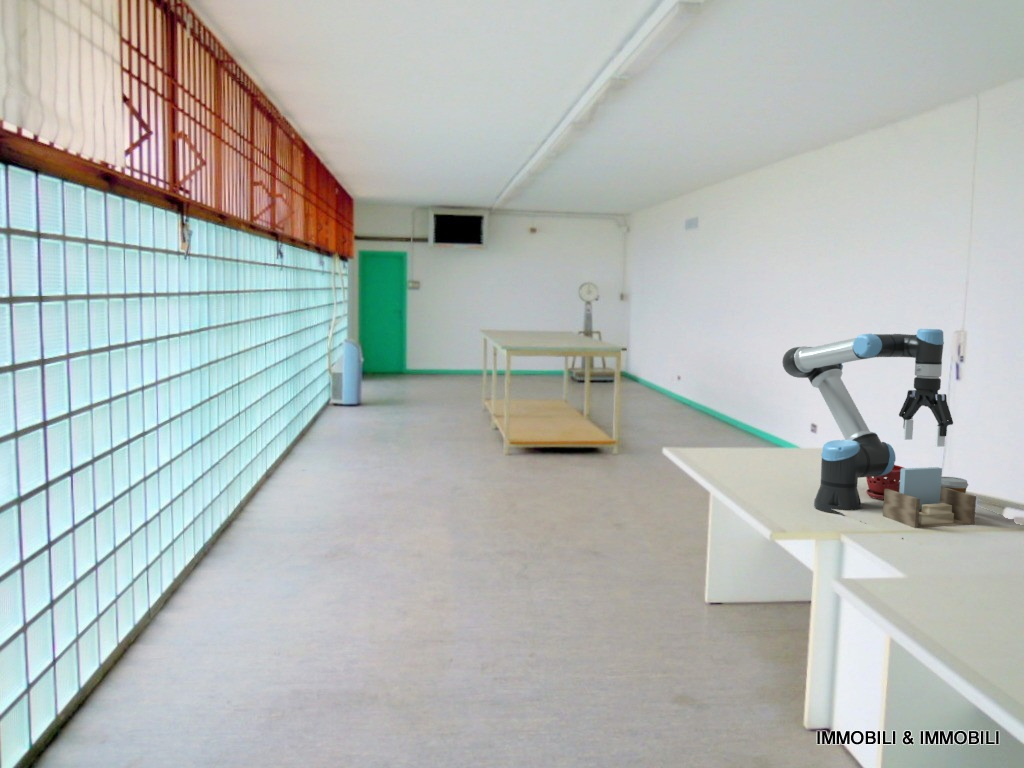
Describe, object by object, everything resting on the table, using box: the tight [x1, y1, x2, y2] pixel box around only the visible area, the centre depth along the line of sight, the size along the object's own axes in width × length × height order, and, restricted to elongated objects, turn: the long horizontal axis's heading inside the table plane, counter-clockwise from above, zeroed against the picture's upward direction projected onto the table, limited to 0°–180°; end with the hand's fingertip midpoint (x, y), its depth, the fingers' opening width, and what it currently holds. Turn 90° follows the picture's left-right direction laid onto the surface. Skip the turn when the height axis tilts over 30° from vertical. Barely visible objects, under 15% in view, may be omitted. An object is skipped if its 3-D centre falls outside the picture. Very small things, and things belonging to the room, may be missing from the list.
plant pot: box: [865, 464, 905, 500], centre depth 277 cm, size 13×13×12 cm
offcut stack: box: [918, 503, 954, 524], centre depth 239 cm, size 4×12×6 cm, turn 103°
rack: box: [882, 486, 977, 529], centre depth 242 cm, size 14×22×10 cm, turn 103°
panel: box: [899, 466, 943, 509], centre depth 245 cm, size 2×14×16 cm, turn 103°
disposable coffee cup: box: [941, 476, 969, 493], centre depth 255 cm, size 10×10×12 cm
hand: (923, 442), depth 244 cm, fingers open, 13 cm apart
